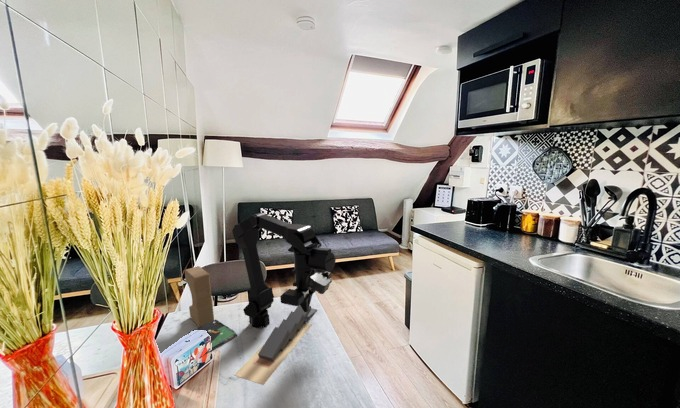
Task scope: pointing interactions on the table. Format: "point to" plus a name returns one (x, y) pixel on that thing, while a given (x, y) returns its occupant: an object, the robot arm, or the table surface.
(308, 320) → the domino
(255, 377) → the board
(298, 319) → the domino
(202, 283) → the decorative block
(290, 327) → the domino
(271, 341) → the domino
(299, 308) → the domino
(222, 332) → the disk drive
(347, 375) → the table surface
